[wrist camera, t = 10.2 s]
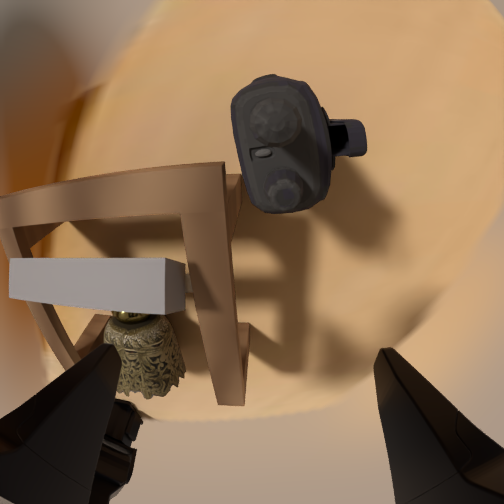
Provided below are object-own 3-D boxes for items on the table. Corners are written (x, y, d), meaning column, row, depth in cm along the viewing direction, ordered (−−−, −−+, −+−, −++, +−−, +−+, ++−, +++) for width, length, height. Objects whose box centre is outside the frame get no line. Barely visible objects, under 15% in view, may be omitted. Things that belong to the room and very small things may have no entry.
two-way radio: (242, 94, 16) (153, 40, 3) (310, 84, 16) (443, 18, 2) (258, 174, 19) (237, 345, 5) (324, 164, 18) (446, 308, 5)
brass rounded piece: (168, 321, 18) (183, 402, 21) (180, 279, 25) (188, 350, 28) (73, 319, 17) (102, 396, 20) (105, 280, 24) (121, 349, 27)
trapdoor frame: (101, 328, 27) (71, 379, 20) (52, 171, 19) (-10, 201, 12) (249, 338, 26) (244, 406, 19) (238, 144, 18) (221, 165, 11)
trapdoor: (99, 271, 23) (98, 297, 23) (10, 258, 12) (9, 297, 12) (214, 272, 23) (214, 302, 22) (165, 257, 12) (164, 314, 11)
